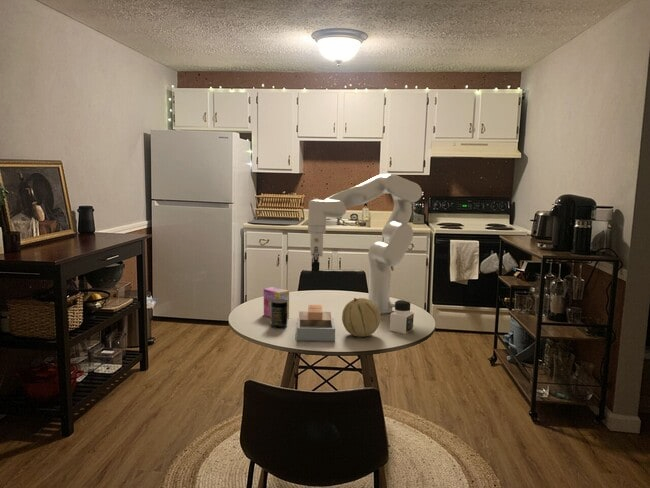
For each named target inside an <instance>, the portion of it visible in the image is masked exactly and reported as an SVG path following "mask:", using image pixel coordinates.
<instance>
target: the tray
mask: <svg viewBox="0 0 650 488" xmlns="http://www.w3.org/2000/svg"><path fill="white" fill-rule="evenodd" d="M296 323H297V324H296V343H297V342H298V343H299V342H304V343H305V342H306V343H307V342H308V343H309V342H311V343H313V342H314V343H315V342H316V343H336V327H335V326H336V325H335V320H334V318H332V319H331V327H327V326H300V318H299V317H298V318H297V321H296Z"/></svg>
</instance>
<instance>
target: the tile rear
mask: <svg viewBox="0 0 650 488" xmlns="http://www.w3.org/2000/svg"><path fill="white" fill-rule="evenodd" d="M309 309H322V310H323V305H322V304H308V309H307V311H308V310H309Z"/></svg>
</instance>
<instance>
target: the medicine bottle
mask: <svg viewBox="0 0 650 488" xmlns="http://www.w3.org/2000/svg"><path fill="white" fill-rule="evenodd" d="M414 315H415V312H413V311H411V302H410V301H409V300H406V299H400V300H399V299H398V300H396V301H395V307H394V311H392V312H391V313H390V315H389V316H390V319H389V331H390V332H394V333H399V334H404V335H406V334H408V333H410V332H411V331H413V330H414V317H415V316H414Z"/></svg>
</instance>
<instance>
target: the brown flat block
mask: <svg viewBox="0 0 650 488" xmlns="http://www.w3.org/2000/svg"><path fill="white" fill-rule="evenodd" d="M322 312H323V315H322V320H308V311H303V310H302V311H301V310H299V311H298V313H299V314H298V318H300V326H327V327H331V319H333V318H332V314H331V313H332V312H330V311H322Z"/></svg>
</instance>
